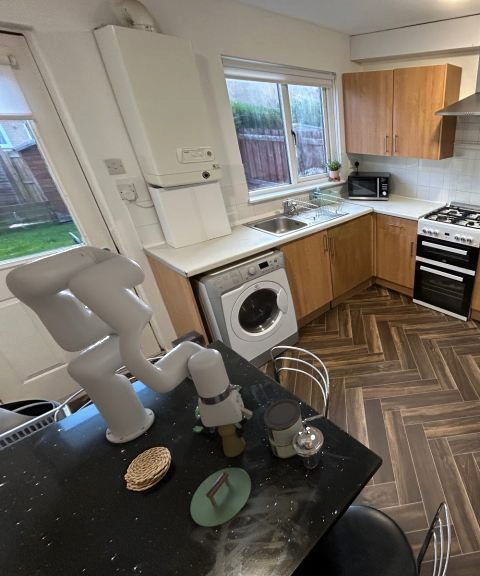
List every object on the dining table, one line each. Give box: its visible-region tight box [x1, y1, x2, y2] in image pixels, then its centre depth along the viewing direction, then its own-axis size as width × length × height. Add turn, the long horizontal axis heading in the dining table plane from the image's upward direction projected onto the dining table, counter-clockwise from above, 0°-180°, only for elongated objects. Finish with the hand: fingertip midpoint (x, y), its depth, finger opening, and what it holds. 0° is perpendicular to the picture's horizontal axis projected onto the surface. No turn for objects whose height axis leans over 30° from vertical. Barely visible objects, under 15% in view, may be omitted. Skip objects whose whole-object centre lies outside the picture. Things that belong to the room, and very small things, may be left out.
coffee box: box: [170, 329, 208, 381], centre depth 120 cm, size 9×6×16 cm
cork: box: [218, 423, 246, 458], centre depth 91 cm, size 6×6×11 cm
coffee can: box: [263, 398, 304, 459], centre depth 93 cm, size 10×10×14 cm
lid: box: [189, 467, 252, 528], centre depth 81 cm, size 15×15×6 cm
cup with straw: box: [292, 413, 325, 469], centre depth 87 cm, size 8×9×20 cm
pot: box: [192, 384, 246, 437], centre depth 103 cm, size 14×19×6 cm
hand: (230, 435), depth 91 cm, fingers closed on cork, 5 cm apart
